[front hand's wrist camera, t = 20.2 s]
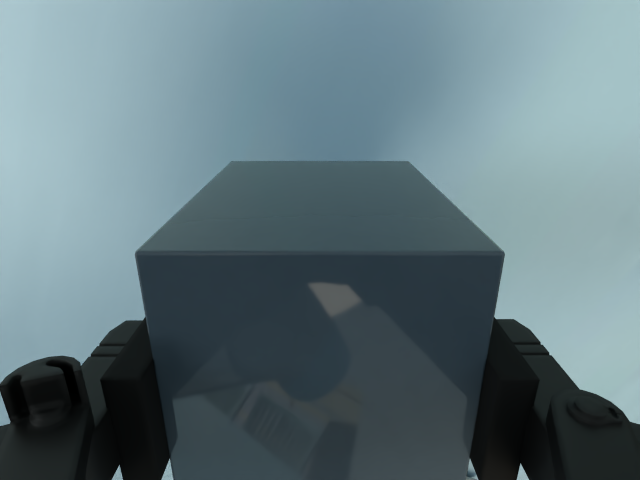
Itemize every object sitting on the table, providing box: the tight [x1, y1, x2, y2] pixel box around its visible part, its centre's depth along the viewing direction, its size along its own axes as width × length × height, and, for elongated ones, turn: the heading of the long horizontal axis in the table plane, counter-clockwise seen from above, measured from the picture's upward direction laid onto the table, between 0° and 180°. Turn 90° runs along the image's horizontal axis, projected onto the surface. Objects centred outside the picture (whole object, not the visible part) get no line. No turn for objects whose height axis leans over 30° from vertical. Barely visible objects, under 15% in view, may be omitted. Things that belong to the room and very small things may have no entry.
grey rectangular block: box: [135, 161, 505, 480], centre depth 13 cm, size 7×7×9 cm
